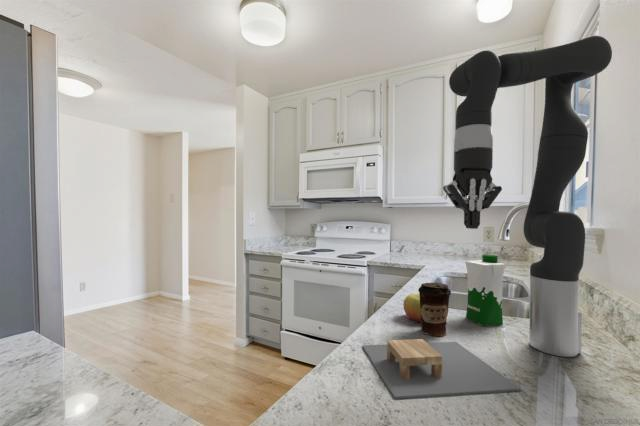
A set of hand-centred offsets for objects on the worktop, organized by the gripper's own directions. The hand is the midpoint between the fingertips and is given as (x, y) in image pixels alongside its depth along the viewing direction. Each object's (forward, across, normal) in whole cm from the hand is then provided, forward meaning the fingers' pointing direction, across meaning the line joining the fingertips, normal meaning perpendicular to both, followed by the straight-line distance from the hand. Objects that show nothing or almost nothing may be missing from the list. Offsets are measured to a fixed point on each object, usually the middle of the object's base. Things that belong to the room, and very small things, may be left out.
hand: (471, 228), depth 64 cm
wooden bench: (+27, +10, +2) cm, 28 cm away
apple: (+29, -2, -26) cm, 39 cm away
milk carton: (+29, -20, -23) cm, 42 cm away
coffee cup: (+29, 0, -16) cm, 33 cm away
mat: (+29, +10, +1) cm, 31 cm away
